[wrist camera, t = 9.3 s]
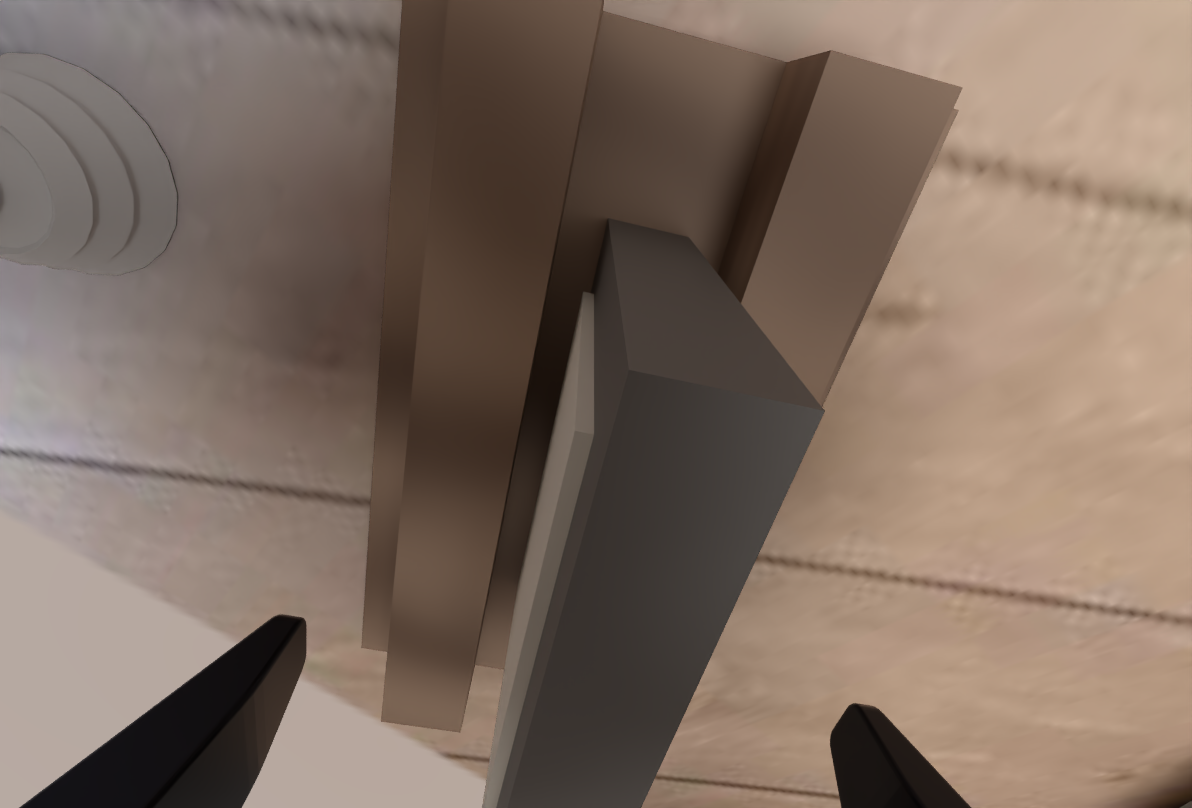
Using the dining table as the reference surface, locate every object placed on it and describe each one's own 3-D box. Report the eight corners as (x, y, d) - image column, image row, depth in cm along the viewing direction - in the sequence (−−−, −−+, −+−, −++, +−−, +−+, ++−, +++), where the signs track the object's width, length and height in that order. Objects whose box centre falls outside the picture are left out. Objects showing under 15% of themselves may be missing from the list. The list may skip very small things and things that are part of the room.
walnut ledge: (684, 673, 22) (699, 765, 19) (371, 625, 21) (332, 714, 18) (934, 110, 13) (1038, 109, 10) (419, -33, 12) (358, -84, 9)
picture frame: (699, 239, 14) (848, 416, 6) (590, 598, 19) (587, 952, 11) (597, 215, 13) (603, 364, 5) (515, 586, 19) (457, 939, 11)
